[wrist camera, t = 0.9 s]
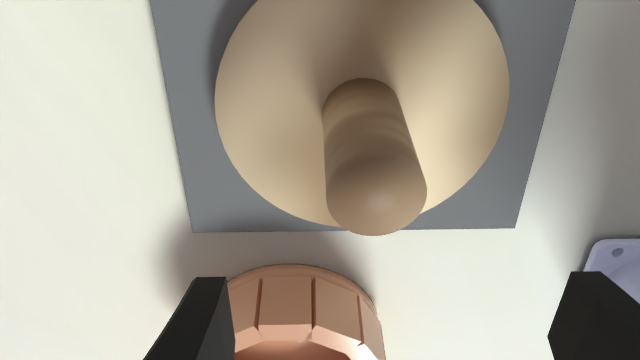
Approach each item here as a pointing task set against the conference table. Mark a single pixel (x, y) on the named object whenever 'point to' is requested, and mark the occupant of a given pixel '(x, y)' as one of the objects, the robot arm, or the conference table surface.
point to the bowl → (302, 316)
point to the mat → (262, 216)
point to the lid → (361, 106)
